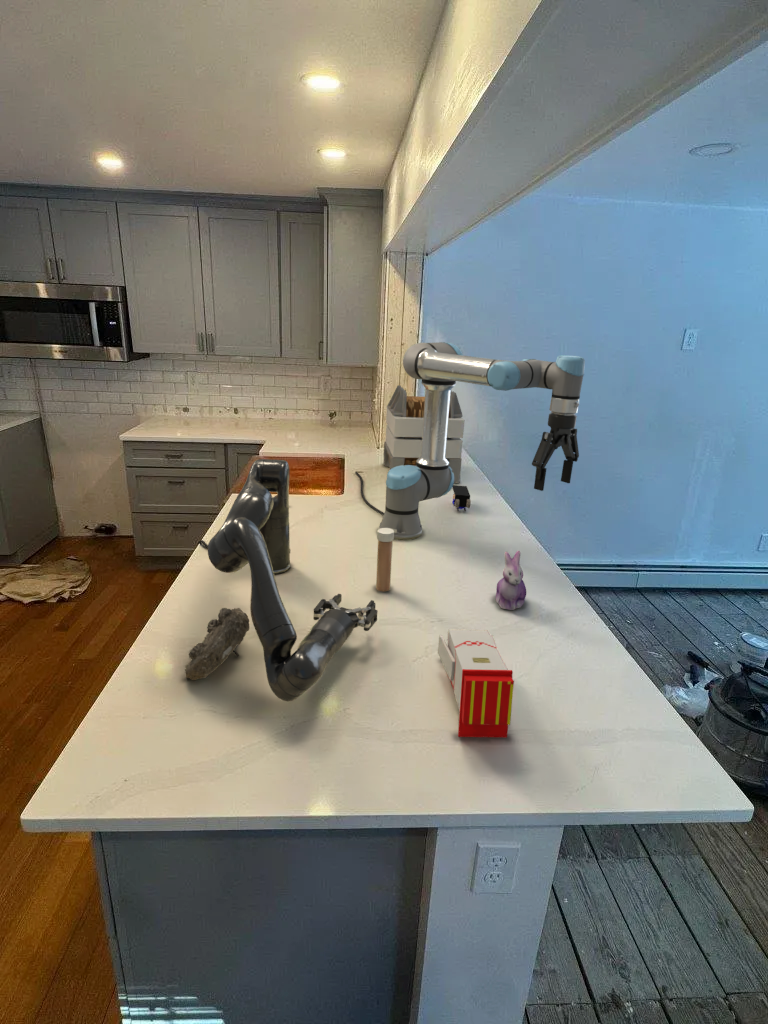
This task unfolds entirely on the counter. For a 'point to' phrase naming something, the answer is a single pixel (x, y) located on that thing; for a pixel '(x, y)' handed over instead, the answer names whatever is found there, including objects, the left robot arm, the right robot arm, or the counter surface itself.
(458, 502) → the figurine character
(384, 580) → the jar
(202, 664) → the fossil
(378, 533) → the lid
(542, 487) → the right robot arm
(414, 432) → the white slatted crate
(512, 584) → the figurine
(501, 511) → the counter surface
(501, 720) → the toy
